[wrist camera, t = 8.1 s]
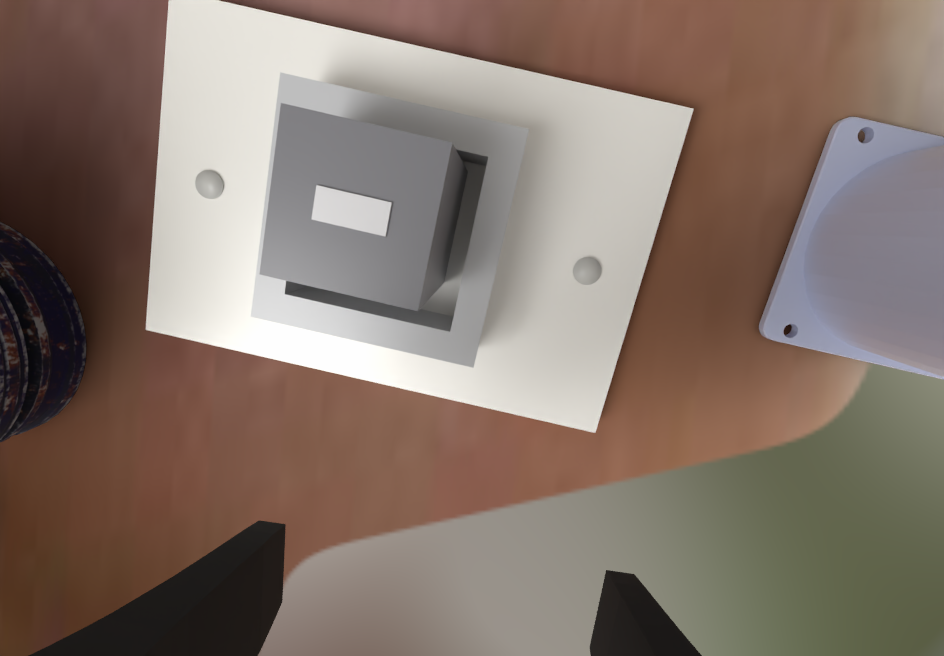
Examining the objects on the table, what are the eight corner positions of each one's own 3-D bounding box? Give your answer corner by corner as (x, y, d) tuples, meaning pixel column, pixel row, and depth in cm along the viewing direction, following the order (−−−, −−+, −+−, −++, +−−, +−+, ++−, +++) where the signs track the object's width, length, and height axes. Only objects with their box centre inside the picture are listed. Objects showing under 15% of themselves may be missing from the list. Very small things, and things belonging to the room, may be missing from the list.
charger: (467, 171, 17) (452, 141, 11) (444, 282, 17) (417, 312, 12) (356, 145, 17) (279, 102, 11) (338, 257, 17) (257, 274, 12)
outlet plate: (682, 115, 17) (729, 87, 13) (590, 422, 19) (610, 464, 16) (188, 2, 17) (109, -54, 13) (163, 324, 19) (92, 345, 16)
